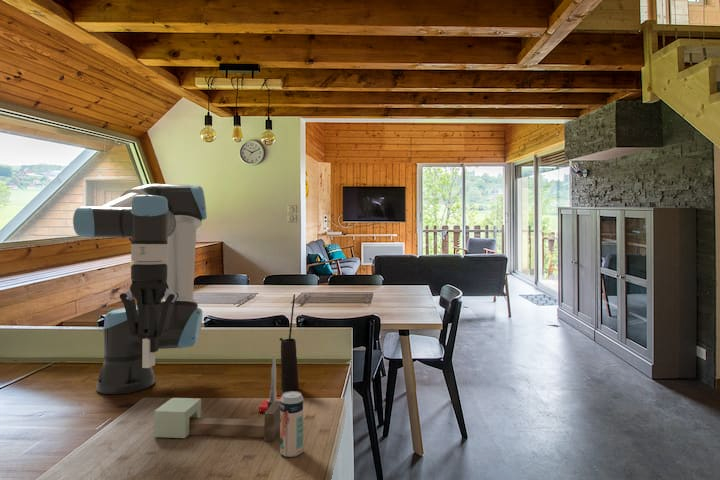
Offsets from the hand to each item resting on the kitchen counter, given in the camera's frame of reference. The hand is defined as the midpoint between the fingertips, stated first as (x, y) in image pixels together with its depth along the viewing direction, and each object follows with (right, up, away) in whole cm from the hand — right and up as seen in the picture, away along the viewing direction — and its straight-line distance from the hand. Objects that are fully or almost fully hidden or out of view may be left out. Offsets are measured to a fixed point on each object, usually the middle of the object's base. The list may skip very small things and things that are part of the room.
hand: (148, 366), depth 99 cm
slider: (+7, -15, 0) cm, 16 cm away
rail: (+16, -15, -1) cm, 22 cm away
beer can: (+34, -15, -10) cm, 39 cm away
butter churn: (+27, -15, +28) cm, 41 cm away
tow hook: (+27, -15, +15) cm, 34 cm away
